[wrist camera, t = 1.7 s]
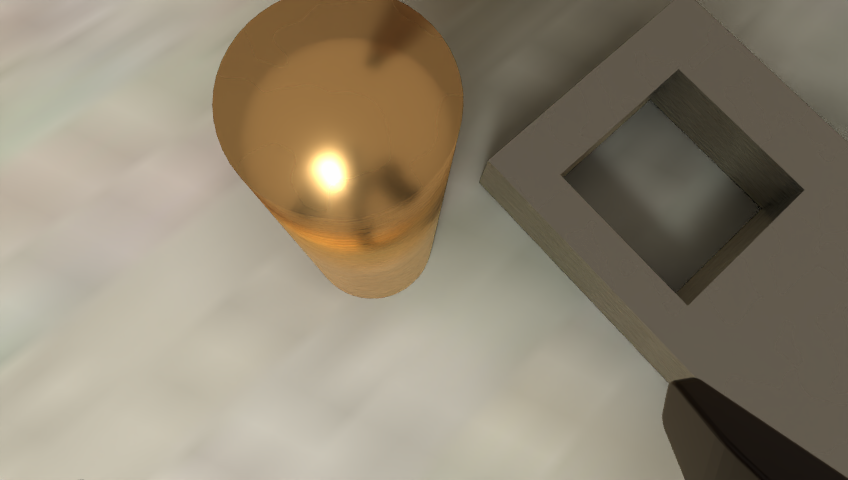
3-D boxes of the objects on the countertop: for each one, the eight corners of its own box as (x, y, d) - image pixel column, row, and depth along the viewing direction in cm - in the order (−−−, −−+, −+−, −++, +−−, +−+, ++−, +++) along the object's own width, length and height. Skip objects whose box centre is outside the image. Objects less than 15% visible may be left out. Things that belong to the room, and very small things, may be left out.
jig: (985, 341, 22) (1057, 337, 20) (814, 537, 21) (869, 560, 18) (656, 28, 24) (684, -10, 22) (479, 182, 23) (488, 160, 20)
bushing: (456, 244, 22) (514, 109, 11) (366, 323, 22) (323, 272, 10) (378, 160, 23) (352, -57, 11) (289, 234, 22) (160, 86, 10)
